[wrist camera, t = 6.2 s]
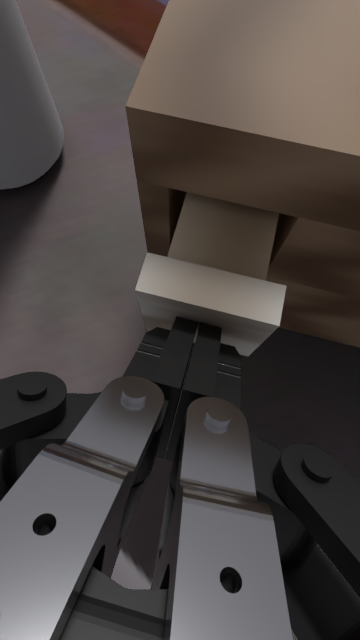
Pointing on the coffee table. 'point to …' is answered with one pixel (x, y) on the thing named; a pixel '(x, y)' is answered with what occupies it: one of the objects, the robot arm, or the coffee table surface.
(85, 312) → the coffee table surface
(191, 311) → the key cream
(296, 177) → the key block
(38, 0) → the coffee table surface
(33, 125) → the can
